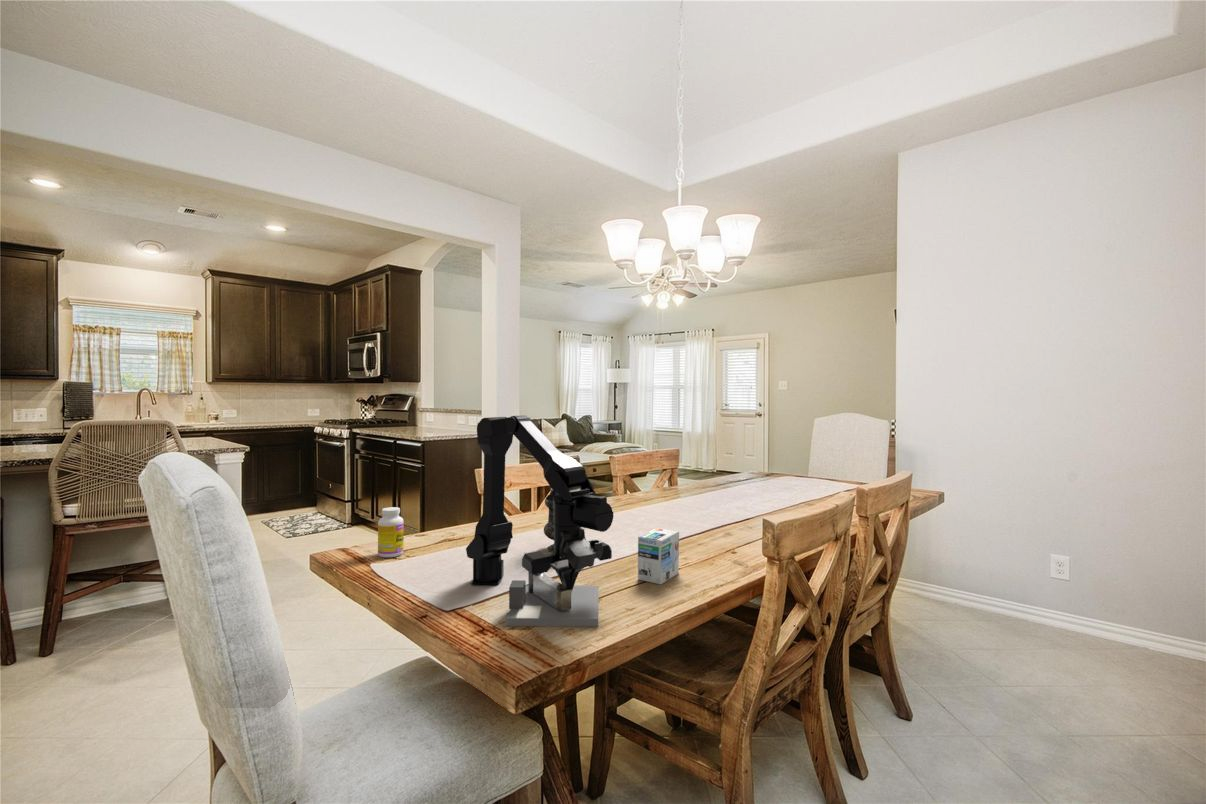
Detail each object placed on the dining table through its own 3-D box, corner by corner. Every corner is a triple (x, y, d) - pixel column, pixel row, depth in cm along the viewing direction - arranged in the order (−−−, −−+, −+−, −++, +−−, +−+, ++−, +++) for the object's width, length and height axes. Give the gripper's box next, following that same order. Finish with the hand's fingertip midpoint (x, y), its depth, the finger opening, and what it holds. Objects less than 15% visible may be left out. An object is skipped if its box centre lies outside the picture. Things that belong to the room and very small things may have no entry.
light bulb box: (661, 585, 129) (661, 540, 129) (636, 580, 133) (636, 536, 133) (679, 572, 138) (680, 530, 138) (655, 568, 142) (656, 527, 142)
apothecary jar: (584, 556, 152) (585, 491, 151) (541, 555, 151) (542, 491, 151) (585, 543, 164) (585, 484, 163) (545, 543, 163) (545, 484, 163)
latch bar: (525, 589, 121) (525, 568, 121) (538, 586, 123) (538, 565, 123) (559, 612, 109) (559, 588, 109) (572, 608, 111) (573, 585, 111)
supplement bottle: (398, 558, 148) (398, 511, 147) (373, 558, 148) (373, 511, 148) (407, 551, 154) (407, 506, 154) (384, 550, 155) (384, 506, 154)
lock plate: (505, 625, 106) (505, 595, 106) (518, 591, 124) (519, 565, 124) (598, 626, 107) (598, 596, 106) (598, 592, 125) (598, 566, 124)
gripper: (543, 540, 102) (544, 621, 103) (625, 525, 112) (626, 599, 113) (520, 526, 112) (521, 600, 113) (598, 514, 122) (598, 582, 122)
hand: (568, 596), depth 115 cm, fingers closed
